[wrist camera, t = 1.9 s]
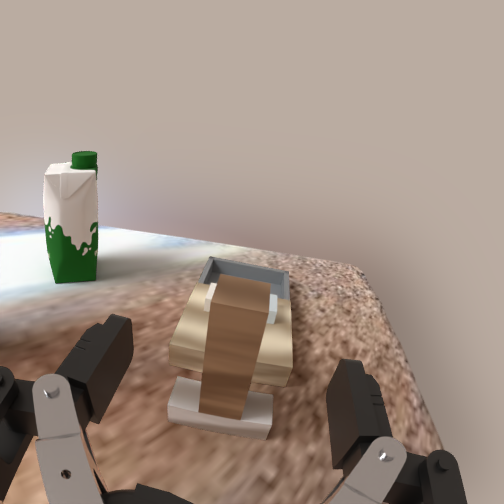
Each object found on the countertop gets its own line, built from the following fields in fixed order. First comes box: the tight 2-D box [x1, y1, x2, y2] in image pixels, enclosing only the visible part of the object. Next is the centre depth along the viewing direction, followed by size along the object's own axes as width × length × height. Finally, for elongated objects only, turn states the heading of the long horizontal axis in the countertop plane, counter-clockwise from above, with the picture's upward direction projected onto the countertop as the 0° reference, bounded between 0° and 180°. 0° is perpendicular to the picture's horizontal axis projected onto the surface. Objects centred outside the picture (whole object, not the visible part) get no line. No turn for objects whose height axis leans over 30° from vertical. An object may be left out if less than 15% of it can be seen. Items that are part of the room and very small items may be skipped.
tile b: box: [267, 294, 277, 324], centre depth 42 cm, size 4×4×2 cm
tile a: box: [204, 283, 217, 312], centre depth 42 cm, size 4×4×2 cm
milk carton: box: [43, 151, 98, 283], centre depth 44 cm, size 9×9×20 cm
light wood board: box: [169, 282, 293, 387], centre depth 41 cm, size 14×14×4 cm
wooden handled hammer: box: [167, 274, 273, 440], centre depth 27 cm, size 4×10×16 cm, turn 85°
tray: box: [198, 256, 290, 300], centre depth 52 cm, size 10×14×3 cm
